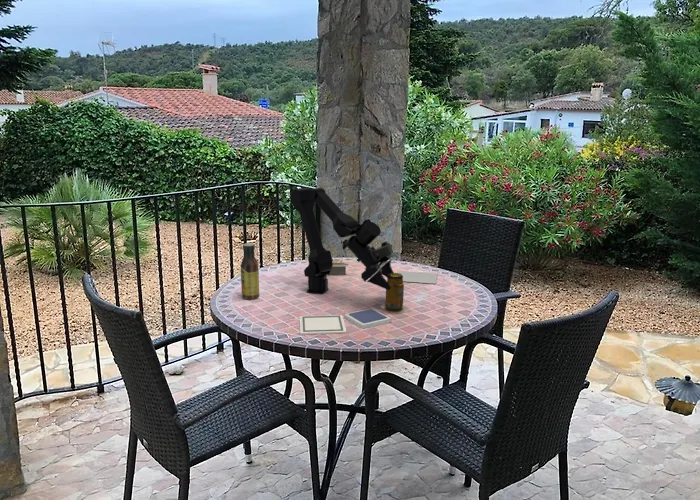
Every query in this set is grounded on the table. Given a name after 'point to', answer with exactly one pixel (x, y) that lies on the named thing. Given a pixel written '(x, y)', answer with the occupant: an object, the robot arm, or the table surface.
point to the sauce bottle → (249, 273)
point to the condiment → (395, 294)
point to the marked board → (322, 324)
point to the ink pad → (367, 318)
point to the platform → (338, 268)
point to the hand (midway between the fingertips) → (393, 285)
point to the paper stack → (418, 277)
